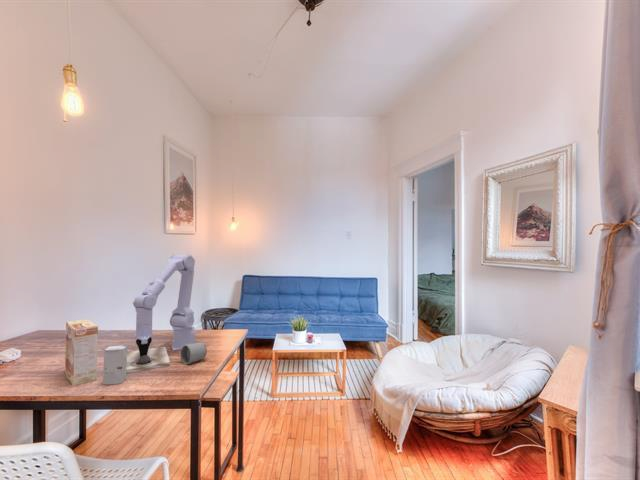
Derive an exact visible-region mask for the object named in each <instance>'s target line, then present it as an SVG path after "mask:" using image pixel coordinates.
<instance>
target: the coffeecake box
mask: <svg viewBox="0 0 640 480" xmlns="http://www.w3.org/2000/svg"><path fill="white" fill-rule="evenodd" d="M65 322H66V323H65V328H66V329H65V358H64V359H65V363H64V365H65V366H64V375H65V376H66V378H67V379H68V381H69V382H70V384H71V386H73V387H74V386H78V385H82V384H83V385H84V384H86V383H90V382H94V381H97V377H98V376H97V374H98V373H97V372H98V371H97V370H98V341H99V340H98V334H99V333H98V331H99V326H98V325H97V324H96V323H94V322H93V321H92V320H90V319H89V318H84V319H77V320H76V319H75V320H69V321H65Z"/></svg>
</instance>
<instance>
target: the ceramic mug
mask: <svg viewBox="0 0 640 480" xmlns="http://www.w3.org/2000/svg"><path fill="white" fill-rule="evenodd" d="M207 351H208V349H207V346H206V344H205V343H204V342H195V343H193V344H187V345H184V346H183V347H182V349H181V350H180V360H181V362H182V363H183V364H184V365H189V364H193V363H195V362H198V361H201V360H203V359H205V358H206V356H207V353H208V352H207Z"/></svg>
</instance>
